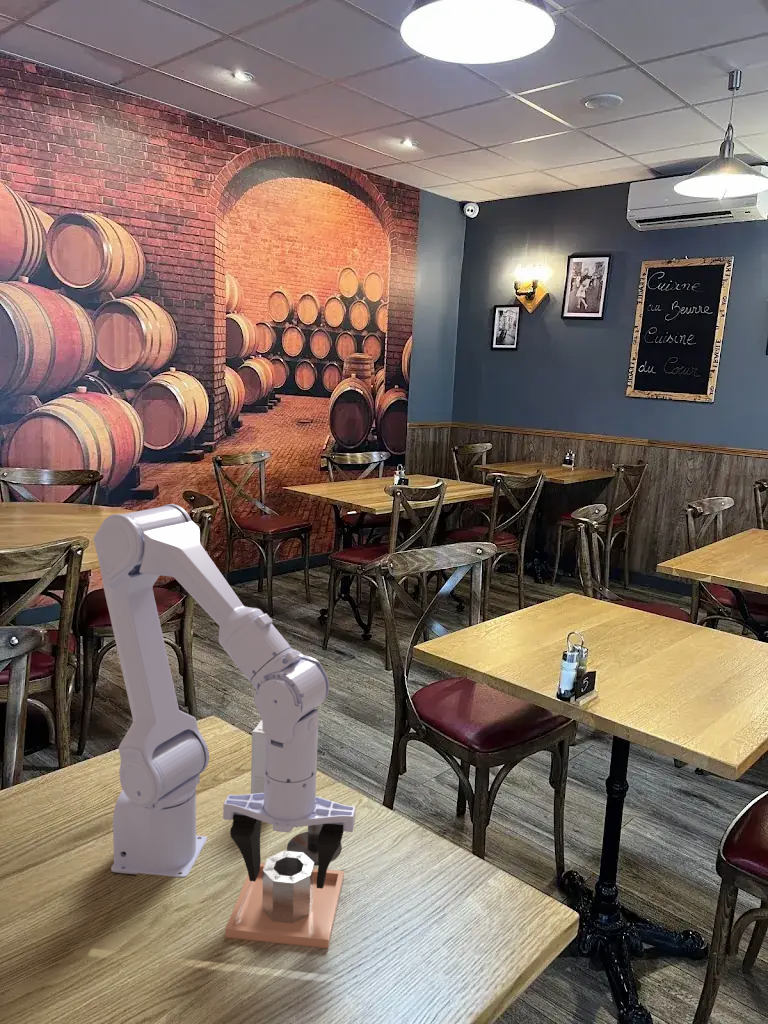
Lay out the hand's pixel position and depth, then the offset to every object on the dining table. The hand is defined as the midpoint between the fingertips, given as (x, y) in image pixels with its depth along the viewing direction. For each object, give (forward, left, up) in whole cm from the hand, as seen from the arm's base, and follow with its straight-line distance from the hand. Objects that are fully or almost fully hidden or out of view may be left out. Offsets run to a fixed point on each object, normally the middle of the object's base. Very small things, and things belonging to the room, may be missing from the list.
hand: (287, 879), depth 85 cm
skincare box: (-7, +21, -4) cm, 22 cm away
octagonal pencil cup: (0, 0, -3) cm, 3 cm away
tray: (0, 0, -4) cm, 4 cm away
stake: (+1, +11, -4) cm, 12 cm away
